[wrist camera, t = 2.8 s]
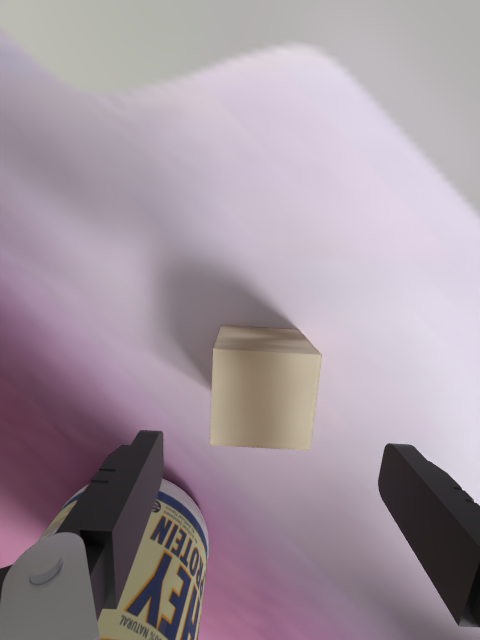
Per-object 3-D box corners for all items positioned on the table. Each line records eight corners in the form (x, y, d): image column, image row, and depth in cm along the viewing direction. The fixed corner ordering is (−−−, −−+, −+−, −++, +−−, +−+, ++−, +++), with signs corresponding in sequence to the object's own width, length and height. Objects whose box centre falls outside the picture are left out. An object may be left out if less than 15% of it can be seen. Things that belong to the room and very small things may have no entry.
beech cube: (298, 329, 19) (321, 354, 13) (291, 400, 20) (309, 450, 14) (221, 324, 18) (213, 348, 13) (218, 395, 20) (209, 444, 14)
